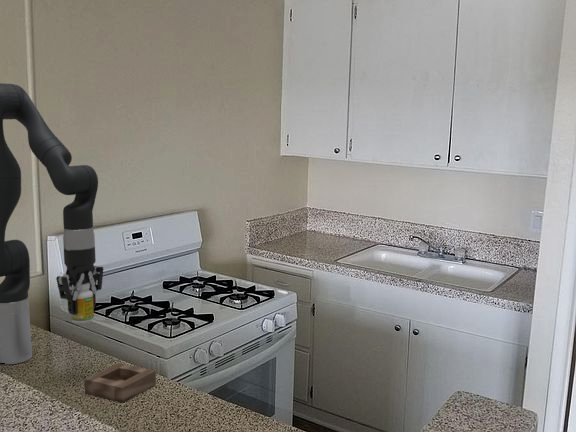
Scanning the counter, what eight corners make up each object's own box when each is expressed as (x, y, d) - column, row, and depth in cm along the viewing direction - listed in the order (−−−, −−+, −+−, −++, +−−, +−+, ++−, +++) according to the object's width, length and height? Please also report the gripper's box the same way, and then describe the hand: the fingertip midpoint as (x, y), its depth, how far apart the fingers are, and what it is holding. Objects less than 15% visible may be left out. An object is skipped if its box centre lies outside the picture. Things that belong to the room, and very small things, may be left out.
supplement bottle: (87, 324, 166) (85, 286, 165) (67, 322, 167) (65, 285, 166) (97, 317, 171) (96, 281, 170) (78, 316, 172) (76, 280, 171)
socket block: (85, 393, 162) (84, 379, 161) (119, 376, 172) (118, 363, 172) (123, 402, 156) (122, 388, 156) (155, 384, 167) (155, 370, 166)
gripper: (89, 239, 174) (91, 302, 177) (46, 249, 162) (49, 316, 164) (110, 242, 171) (113, 306, 173) (68, 252, 158) (71, 320, 161)
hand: (82, 310), depth 169 cm, fingers closed on supplement bottle, 5 cm apart
